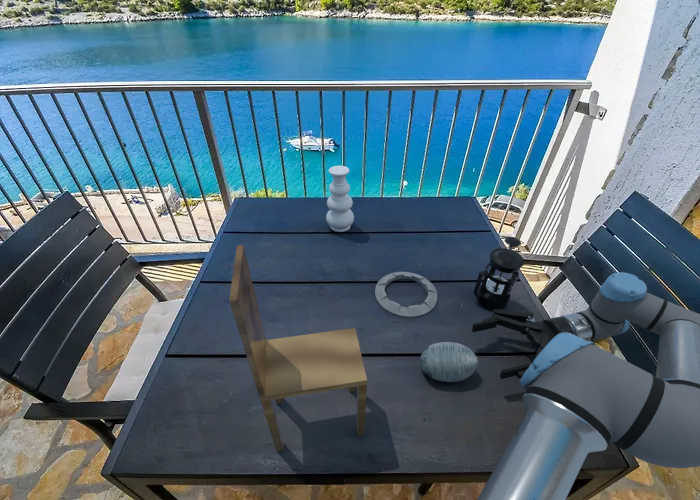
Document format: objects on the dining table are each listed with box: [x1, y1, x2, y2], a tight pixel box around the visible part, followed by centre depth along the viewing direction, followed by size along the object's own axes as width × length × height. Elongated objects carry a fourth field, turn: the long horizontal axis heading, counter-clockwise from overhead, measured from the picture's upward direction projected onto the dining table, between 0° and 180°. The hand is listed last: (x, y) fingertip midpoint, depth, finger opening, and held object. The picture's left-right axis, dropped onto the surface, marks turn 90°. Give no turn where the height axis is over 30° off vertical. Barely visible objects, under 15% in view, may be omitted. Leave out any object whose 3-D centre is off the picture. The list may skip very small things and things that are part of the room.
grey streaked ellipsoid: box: [419, 341, 479, 383], centre depth 86 cm, size 14×10×10 cm
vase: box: [325, 165, 355, 233], centre depth 131 cm, size 11×11×25 cm
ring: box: [374, 271, 438, 319], centre depth 109 cm, size 19×19×2 cm
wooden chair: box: [228, 244, 368, 452], centre depth 65 cm, size 12×19×46 cm, turn 100°
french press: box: [472, 236, 525, 312], centre depth 100 cm, size 12×9×23 cm
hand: (486, 350), depth 85 cm, fingers open, 13 cm apart
